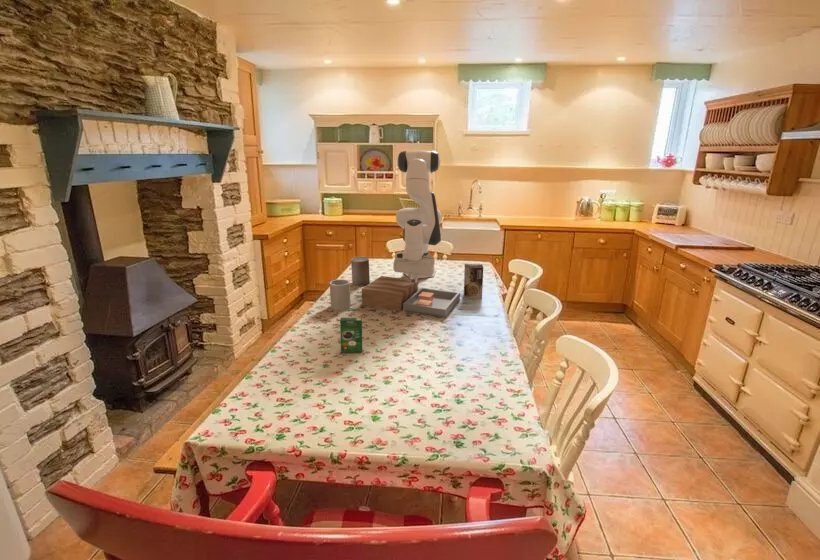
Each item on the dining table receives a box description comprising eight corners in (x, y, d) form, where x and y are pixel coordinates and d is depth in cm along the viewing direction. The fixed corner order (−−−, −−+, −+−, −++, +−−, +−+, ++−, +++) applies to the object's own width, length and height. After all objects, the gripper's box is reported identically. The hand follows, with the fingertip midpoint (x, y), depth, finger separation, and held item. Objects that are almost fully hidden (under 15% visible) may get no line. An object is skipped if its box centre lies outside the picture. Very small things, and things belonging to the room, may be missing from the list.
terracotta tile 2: (434, 293, 207) (434, 298, 207) (422, 291, 209) (422, 296, 210) (430, 297, 201) (430, 302, 202) (418, 295, 203) (418, 300, 204)
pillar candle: (371, 280, 237) (370, 254, 232) (368, 286, 227) (366, 259, 223) (354, 280, 238) (352, 254, 233) (350, 285, 228) (348, 258, 224)
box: (421, 295, 214) (421, 287, 213) (459, 300, 207) (459, 292, 206) (403, 311, 193) (403, 303, 192) (445, 318, 186) (445, 309, 185)
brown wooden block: (381, 290, 221) (381, 275, 218) (417, 295, 214) (417, 280, 211) (362, 304, 201) (361, 288, 199) (400, 310, 194) (400, 294, 192)
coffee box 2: (481, 294, 215) (483, 264, 210) (482, 299, 209) (483, 267, 204) (463, 294, 216) (464, 263, 211) (463, 298, 210) (464, 267, 205)
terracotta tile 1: (432, 301, 196) (432, 306, 197) (420, 299, 198) (420, 304, 199) (428, 305, 191) (427, 310, 192) (415, 303, 193) (415, 308, 194)
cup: (346, 310, 194) (345, 286, 190) (328, 309, 195) (326, 284, 192) (353, 303, 202) (352, 280, 199) (335, 302, 204) (334, 278, 200)
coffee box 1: (363, 349, 157) (362, 316, 153) (363, 353, 155) (362, 319, 151) (341, 349, 157) (339, 317, 153) (340, 353, 154) (339, 320, 150)
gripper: (436, 255, 201) (436, 282, 205) (397, 251, 208) (397, 278, 212) (432, 258, 195) (431, 286, 199) (391, 254, 202) (392, 281, 206)
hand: (413, 282), depth 206 cm, fingers closed
